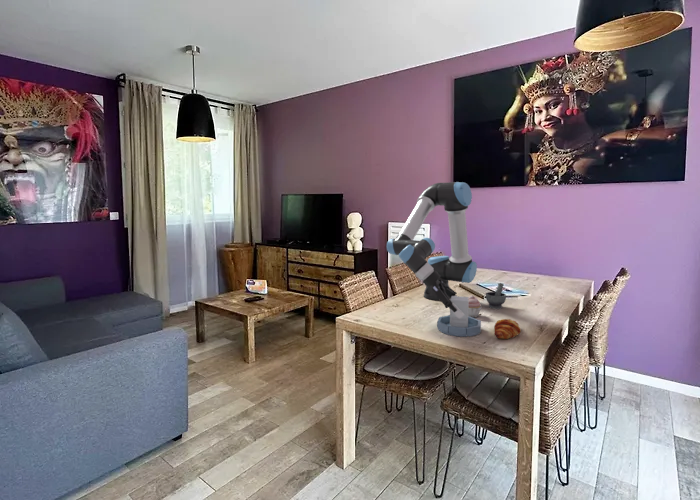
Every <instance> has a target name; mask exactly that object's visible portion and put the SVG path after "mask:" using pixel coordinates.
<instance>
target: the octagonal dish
mask: <svg viewBox="0 0 700 500" xmlns="http://www.w3.org/2000/svg"><path fill="white" fill-rule="evenodd" d="M436 325H437V326H436V327H437V330H438V331H439V332H441V333H442V334H444V335H448V336H451V337H452V336H454V337H463V338H464V337H465V338H467V336H469V337H476V336H479V335H480V334H481V333H482V320H480V319H477V318H476V317H470V316H468V327H467V328H463V327H454V326H450V314H449V315H444V316H443V315H442V316H439V317H438V319H437V323H436Z"/></svg>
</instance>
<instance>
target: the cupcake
mask: <svg viewBox="0 0 700 500" xmlns="http://www.w3.org/2000/svg"><path fill="white" fill-rule="evenodd" d="M468 297H469V306H468V316H470V317H472V318H478V317H479V315H480V311H481V310H482V308H483V307H482V305H481V303H480V301H479V299H478V298H477V297H475V296H474V295H470V296H468Z"/></svg>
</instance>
